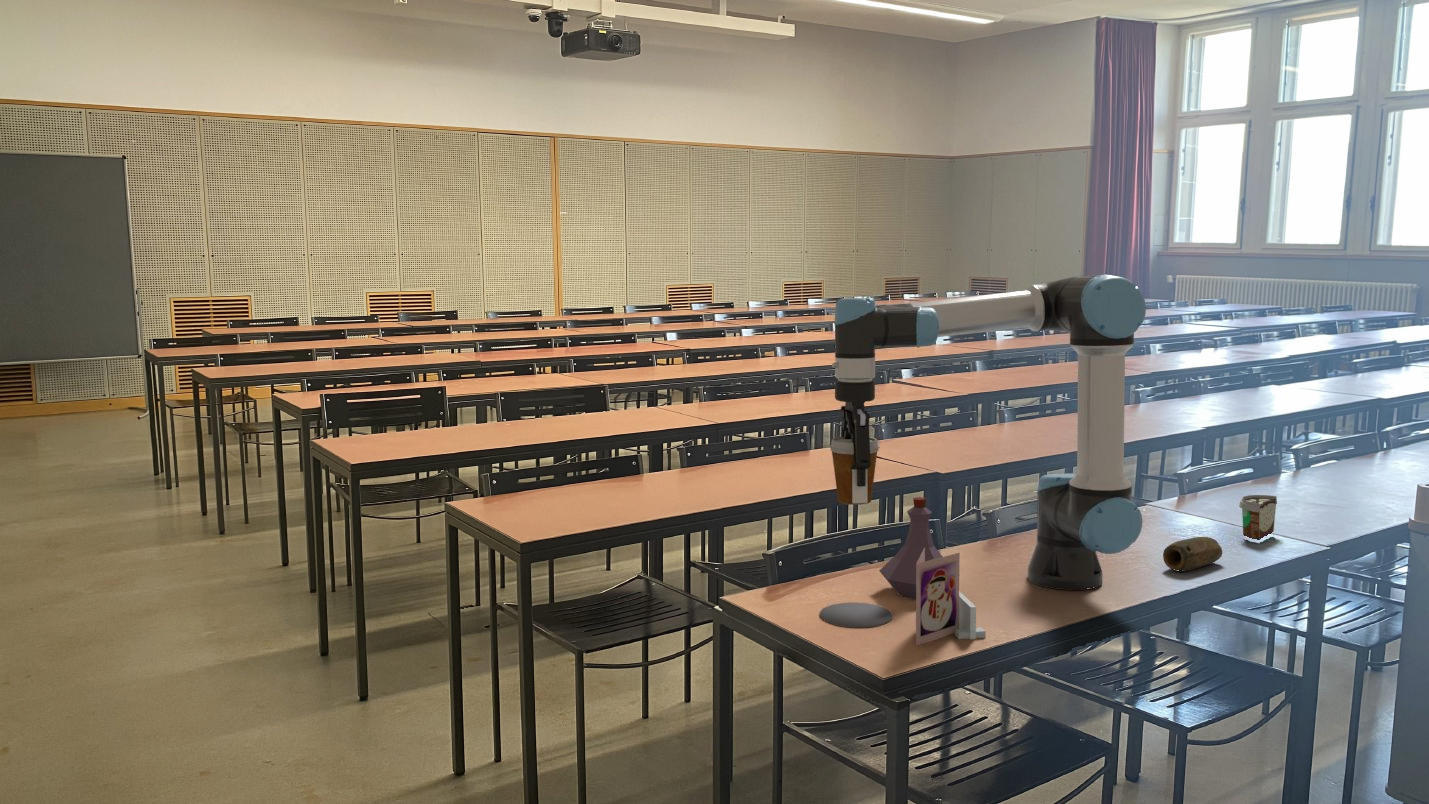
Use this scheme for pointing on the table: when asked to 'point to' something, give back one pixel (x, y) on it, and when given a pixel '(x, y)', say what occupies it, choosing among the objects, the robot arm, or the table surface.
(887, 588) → the table surface
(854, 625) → the mat
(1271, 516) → the food container
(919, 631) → the greeting card
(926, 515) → the flask
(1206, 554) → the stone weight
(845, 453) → the disposable coffee cup
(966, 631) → the divider
